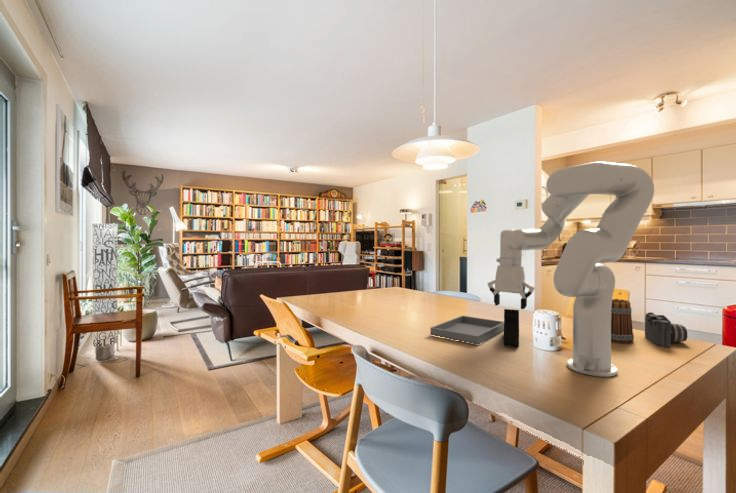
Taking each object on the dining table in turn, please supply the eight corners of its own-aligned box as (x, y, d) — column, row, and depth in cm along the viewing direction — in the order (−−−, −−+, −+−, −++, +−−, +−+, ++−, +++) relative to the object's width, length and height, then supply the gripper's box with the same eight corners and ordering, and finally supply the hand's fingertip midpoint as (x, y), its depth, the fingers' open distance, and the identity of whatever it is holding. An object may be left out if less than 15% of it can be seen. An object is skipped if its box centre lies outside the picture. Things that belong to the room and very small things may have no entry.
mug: (622, 336, 135) (622, 298, 135) (640, 344, 125) (640, 303, 124) (580, 335, 137) (580, 298, 137) (595, 343, 126) (595, 302, 126)
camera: (696, 350, 118) (696, 321, 118) (657, 347, 121) (658, 319, 121) (675, 338, 131) (675, 312, 131) (640, 336, 135) (641, 311, 135)
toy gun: (519, 358, 133) (519, 328, 140) (518, 341, 120) (519, 309, 126) (505, 357, 135) (505, 327, 142) (503, 340, 122) (504, 308, 129)
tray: (478, 345, 125) (478, 336, 125) (430, 336, 138) (430, 327, 138) (506, 330, 146) (505, 322, 146) (462, 323, 159) (462, 315, 159)
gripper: (484, 261, 133) (483, 305, 134) (531, 264, 122) (530, 312, 123) (492, 260, 139) (491, 302, 140) (537, 262, 127) (537, 308, 128)
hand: (509, 306), depth 131 cm, fingers open, 9 cm apart
